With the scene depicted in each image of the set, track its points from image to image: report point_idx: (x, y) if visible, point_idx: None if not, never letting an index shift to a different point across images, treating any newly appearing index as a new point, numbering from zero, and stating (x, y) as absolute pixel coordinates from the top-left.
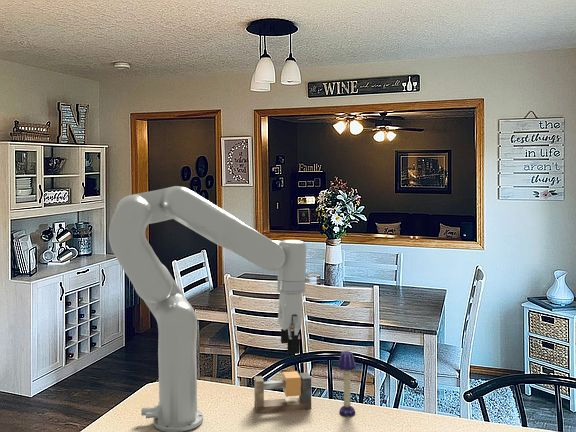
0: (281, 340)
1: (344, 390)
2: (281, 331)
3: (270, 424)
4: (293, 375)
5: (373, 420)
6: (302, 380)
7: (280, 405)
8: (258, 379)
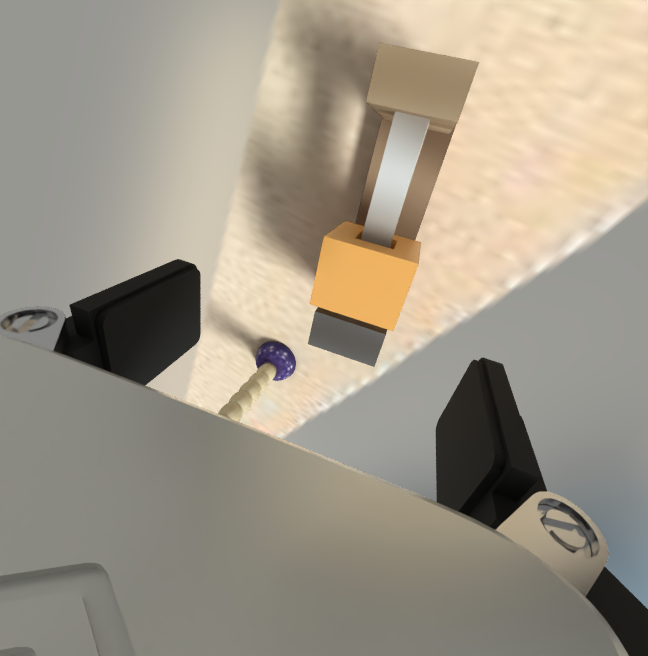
0: (485, 370)
1: (246, 390)
2: (503, 441)
3: (278, 106)
4: (346, 287)
5: (225, 380)
6: (322, 308)
7: (363, 194)
8: (408, 73)
